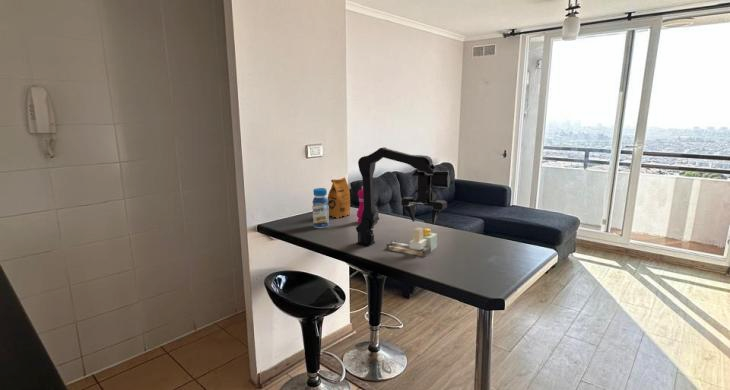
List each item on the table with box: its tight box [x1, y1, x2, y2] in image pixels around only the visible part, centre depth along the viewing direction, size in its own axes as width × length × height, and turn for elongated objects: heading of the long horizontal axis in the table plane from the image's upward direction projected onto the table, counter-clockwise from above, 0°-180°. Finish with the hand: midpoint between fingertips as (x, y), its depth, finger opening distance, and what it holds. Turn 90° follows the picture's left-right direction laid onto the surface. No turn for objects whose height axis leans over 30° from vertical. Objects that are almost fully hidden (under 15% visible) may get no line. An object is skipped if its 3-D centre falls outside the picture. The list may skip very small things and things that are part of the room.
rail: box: [386, 239, 432, 258], centre depth 165 cm, size 18×6×2 cm, turn 58°
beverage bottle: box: [312, 187, 330, 229], centre depth 202 cm, size 8×8×20 cm
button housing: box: [423, 232, 438, 252], centre depth 168 cm, size 7×7×6 cm
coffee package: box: [327, 177, 351, 219], centre depth 223 cm, size 10×12×22 cm
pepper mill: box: [356, 185, 364, 224], centre depth 209 cm, size 7×7×20 cm
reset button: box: [423, 228, 432, 236], centre depth 168 cm, size 3×3×5 cm
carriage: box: [409, 227, 427, 250], centre depth 162 cm, size 5×6×8 cm
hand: (423, 222), depth 164 cm, fingers open, 9 cm apart
